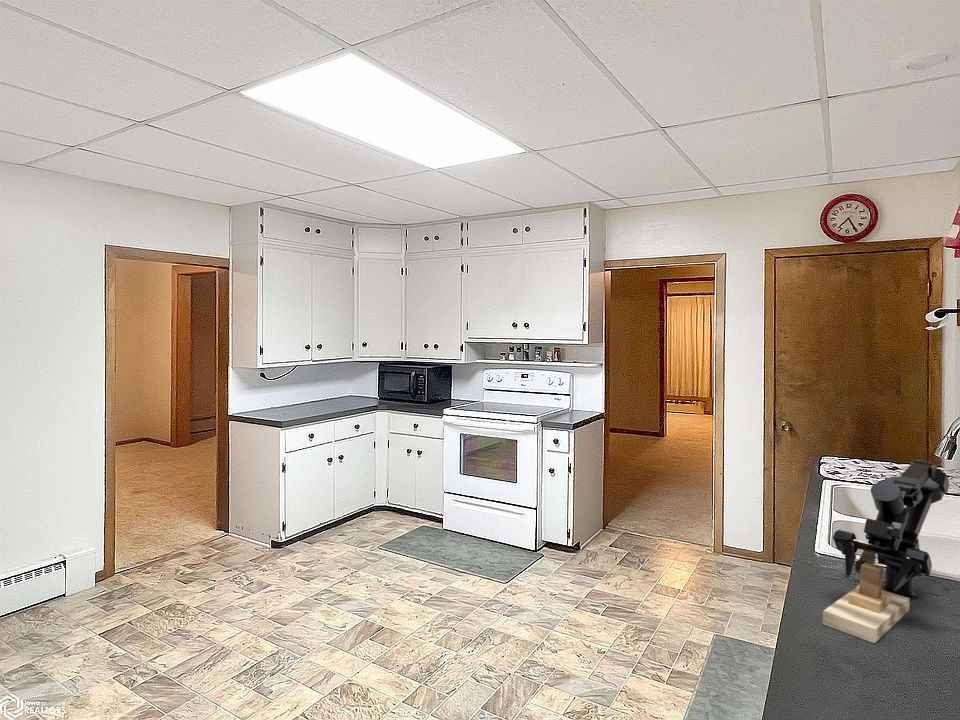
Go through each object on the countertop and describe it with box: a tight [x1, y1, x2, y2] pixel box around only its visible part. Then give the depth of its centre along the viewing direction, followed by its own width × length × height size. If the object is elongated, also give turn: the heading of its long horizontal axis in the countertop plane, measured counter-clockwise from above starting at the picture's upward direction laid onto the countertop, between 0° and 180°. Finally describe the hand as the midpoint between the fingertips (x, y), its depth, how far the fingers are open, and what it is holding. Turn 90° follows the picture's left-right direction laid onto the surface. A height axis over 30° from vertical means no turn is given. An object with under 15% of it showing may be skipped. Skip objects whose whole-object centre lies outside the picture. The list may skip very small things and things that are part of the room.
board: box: [821, 584, 911, 644], centre depth 137 cm, size 24×10×3 cm, turn 131°
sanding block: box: [848, 562, 891, 613], centre depth 137 cm, size 8×6×8 cm
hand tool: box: [854, 550, 876, 571], centre depth 169 cm, size 19×4×5 cm, turn 139°
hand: (869, 583), depth 137 cm, fingers open, 9 cm apart
